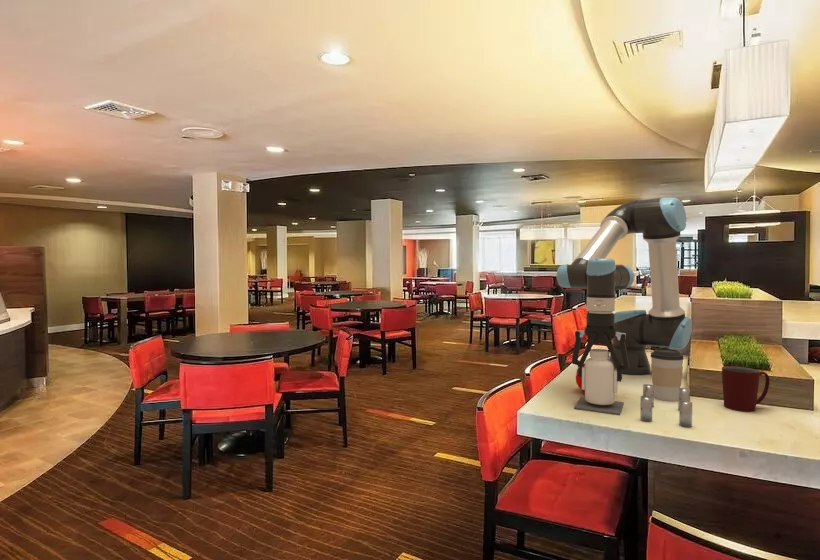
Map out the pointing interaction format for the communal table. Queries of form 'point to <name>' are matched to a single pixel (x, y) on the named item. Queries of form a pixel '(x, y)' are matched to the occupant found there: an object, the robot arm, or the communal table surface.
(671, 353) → the coffee cup
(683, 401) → the spacers
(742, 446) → the communal table surface
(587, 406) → the mat
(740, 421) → the communal table surface
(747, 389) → the mug
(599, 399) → the pill bottle
